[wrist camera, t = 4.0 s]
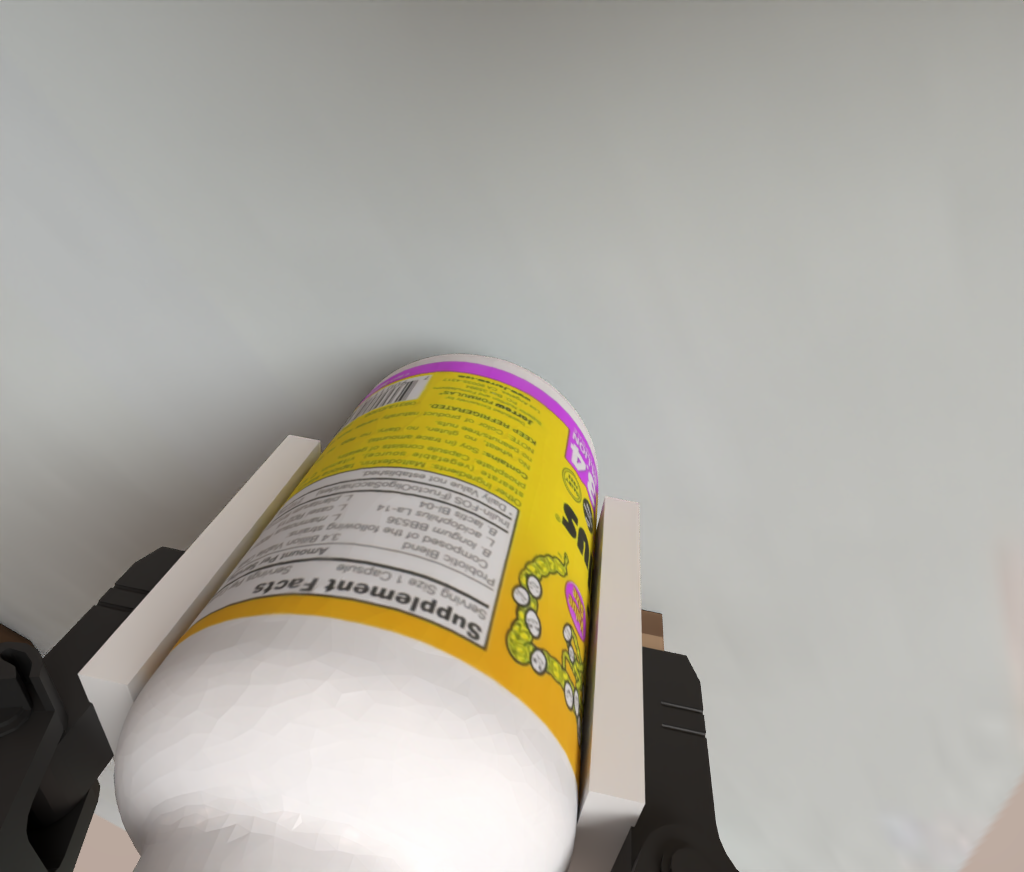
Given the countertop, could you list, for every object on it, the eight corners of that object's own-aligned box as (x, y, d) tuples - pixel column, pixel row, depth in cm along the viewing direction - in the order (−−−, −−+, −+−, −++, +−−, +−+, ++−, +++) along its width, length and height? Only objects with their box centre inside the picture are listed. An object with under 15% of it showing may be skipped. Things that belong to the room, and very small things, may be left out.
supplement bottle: (565, 572, 18) (479, 1304, 8) (352, 516, 19) (-24, 1154, 8) (634, 379, 15) (650, 1253, 4) (368, 310, 15) (-292, 976, 4)
